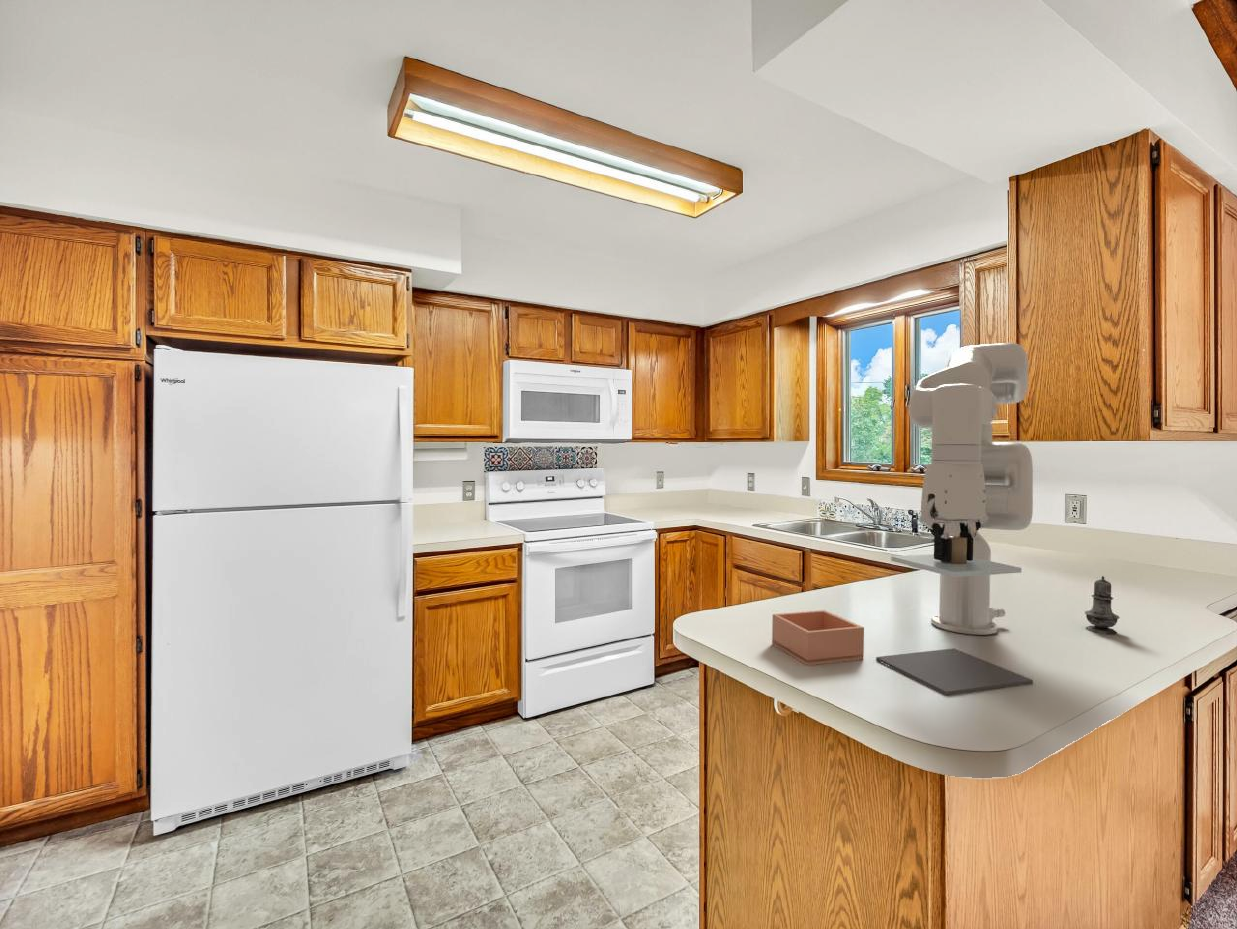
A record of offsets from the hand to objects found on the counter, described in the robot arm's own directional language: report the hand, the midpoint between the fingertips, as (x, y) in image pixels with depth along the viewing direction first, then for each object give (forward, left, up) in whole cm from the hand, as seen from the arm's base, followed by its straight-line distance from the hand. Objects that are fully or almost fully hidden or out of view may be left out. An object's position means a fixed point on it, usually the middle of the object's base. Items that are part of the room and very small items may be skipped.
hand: (953, 558), depth 103 cm
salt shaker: (-51, -10, -20) cm, 56 cm away
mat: (0, 0, -20) cm, 20 cm away
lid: (0, 0, -1) cm, 1 cm away
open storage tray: (+17, -15, -20) cm, 30 cm away
